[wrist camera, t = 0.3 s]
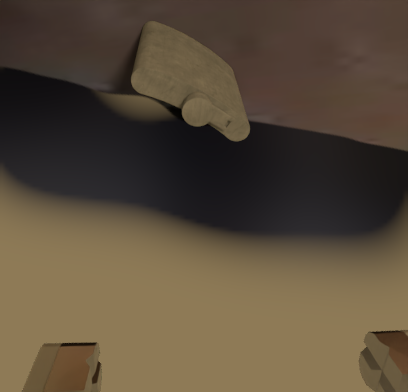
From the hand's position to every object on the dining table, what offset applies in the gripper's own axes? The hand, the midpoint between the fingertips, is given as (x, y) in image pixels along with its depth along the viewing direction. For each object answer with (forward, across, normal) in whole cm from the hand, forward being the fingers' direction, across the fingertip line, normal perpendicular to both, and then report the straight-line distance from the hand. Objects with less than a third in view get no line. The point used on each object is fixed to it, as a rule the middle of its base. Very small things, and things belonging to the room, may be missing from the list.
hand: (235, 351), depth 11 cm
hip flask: (+52, -1, -7) cm, 53 cm away
